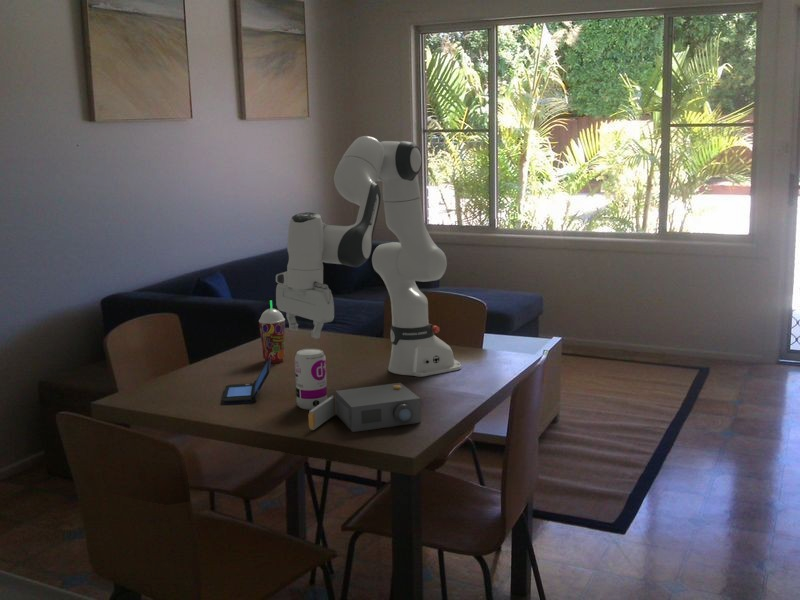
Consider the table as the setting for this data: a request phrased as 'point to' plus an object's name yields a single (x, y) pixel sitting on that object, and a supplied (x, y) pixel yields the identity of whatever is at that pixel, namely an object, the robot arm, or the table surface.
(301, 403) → the supplement can
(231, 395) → the handheld game console
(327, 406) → the side door
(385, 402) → the camera body
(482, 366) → the table surface
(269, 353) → the smoothie
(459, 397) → the table surface
